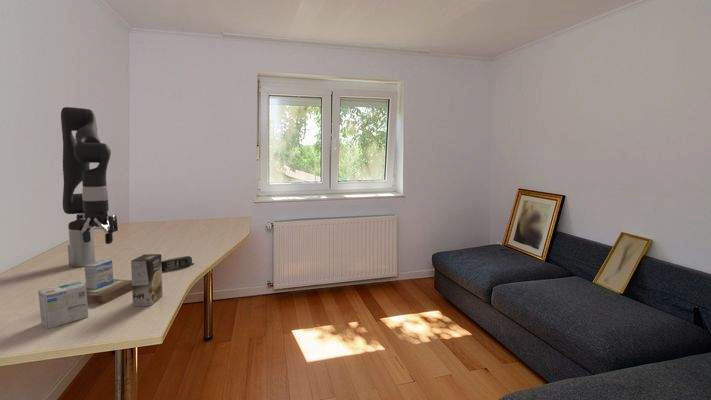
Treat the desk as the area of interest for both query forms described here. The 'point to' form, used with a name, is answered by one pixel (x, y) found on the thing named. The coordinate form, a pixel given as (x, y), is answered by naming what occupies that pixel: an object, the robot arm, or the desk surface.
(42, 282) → the desk surface
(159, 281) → the coffee box
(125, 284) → the walnut plinth
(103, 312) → the desk surface
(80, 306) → the light bulb box
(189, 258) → the dark remote control
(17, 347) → the desk surface
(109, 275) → the medicine box
